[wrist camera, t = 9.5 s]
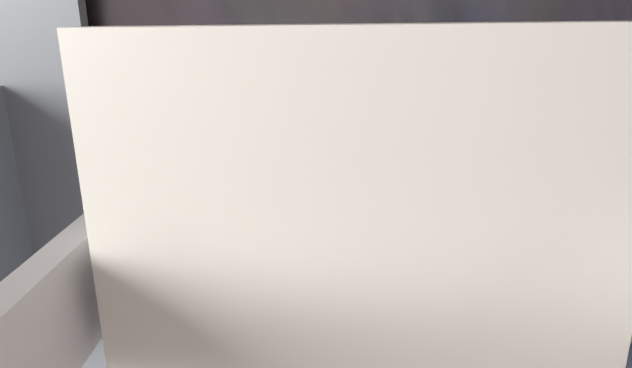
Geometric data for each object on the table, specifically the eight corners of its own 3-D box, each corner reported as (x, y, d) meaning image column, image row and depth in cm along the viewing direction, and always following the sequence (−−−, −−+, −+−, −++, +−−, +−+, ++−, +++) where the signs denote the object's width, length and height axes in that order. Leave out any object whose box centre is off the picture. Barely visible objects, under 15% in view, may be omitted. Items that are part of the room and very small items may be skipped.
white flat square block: (89, 26, 12) (56, 27, 10) (646, 20, 12) (691, 21, 10) (146, 465, 15) (128, 511, 14) (571, 467, 15) (597, 514, 14)
